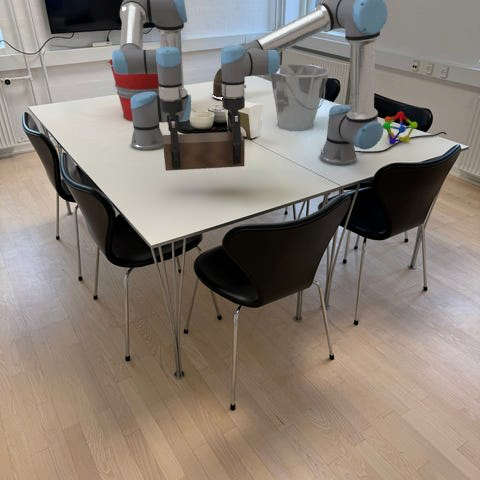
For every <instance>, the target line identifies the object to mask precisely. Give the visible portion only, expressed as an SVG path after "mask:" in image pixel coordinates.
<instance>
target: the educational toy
mask: <svg viewBox="0 0 480 480" xmlns="http://www.w3.org/2000/svg"><path fill="white" fill-rule="evenodd" d="M397 119H399V124H400V125H399V127H398V126H393V125H391V124H392V123H394V122H395V121H396V120H397ZM403 120H404V121H405V122H407V123H408V124H409V125H407V126H404V123H403ZM382 126H383V130H386V132H387V138H388V142H389V145H394V144H395V143H397V142H399V141H402V142H404V143H409V142H410V140H411V139H410V137H411V134H412V132H413V131H414V130H415V129H417V127H418V122H417V121H411V120H410V119H409V118H408V117H406V116H405V113H404V112H403V111H401V110H400V111H398V112H397V114H396V115H394V116H391V117H390V116H386V117H385V118H384V122H383V123H382ZM392 129H393V130H397V131H398V132H396V134H395V133H394V132H392ZM408 129H409V131H408V133H407V134H406V135H404V136H401V134H403V133H405V132H406V130H408ZM399 135H400V136H399Z"/></svg>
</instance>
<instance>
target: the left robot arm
mask: <svg viewBox="0 0 480 480" xmlns="http://www.w3.org/2000/svg"><path fill="white" fill-rule="evenodd" d="M119 17H120V21H121V32H120V43H119V49H115V50H112V52H111V59H112V62H113V68H114V71H115V73H117V74H126V75H128V74H158V80H159V96H157V94H156V92H142V93H139V94H136V95H134V96H133V97H132V98H131V110H132V117H133V121H132V125H133V132H132V135H131V142H130V143H131V147H132V148H134V149H135V150H141V151H151V150H153V151H154V150H157V149H161V148H163V135H164V134H163V132H162V130H161V127H160V123H167V125H168V126H167V127H168V128H167V129H168V131H169V135H170V137H171V150H169V152H171V154H172V167H173V169H181V168H180V154H179V145H178V134H179V132H178V131H179V130H180V128H179V127H180V125H179V123H183V122H187V121H189V120H190V118H191V113H192V112H191V111H192V95H191V94H188V90H187V89H186V88H185V84H184V83H185V82H184V67H183V65H184V64H183V50H182V33H181V32H182V31H183V30H184V28H185V24H186V23H187V22H188V16H187V9H186V3H185V0H123V1H122V3H121V5H120V8H119ZM146 23H149V24H150V23H151V24H152V23H153V24H154V29H156V30H157V31H158V35H159V47H158V48H157V49H144V48H143V47H144V25H145V24H146Z"/></svg>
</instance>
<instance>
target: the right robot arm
mask: <svg viewBox="0 0 480 480" xmlns="http://www.w3.org/2000/svg"><path fill="white" fill-rule="evenodd" d="M388 12H389V11H388V6H387V3H386V2H385V0H325V1H324V2H321V3H320V4H317V5H316V7H315V10H312V11H310V12H309V13H306V14H304V15H302V16H301V17H298V18H296V19H293V20H292V21H290V22H288V23H286V24H284V25H281V26H280V27H278V28H276V29H274V30H272V31H270V32H268V33H266V34H264V35H261V36H260V37H258V38H256V39H254V40H252V41H249V42H248V43H247V42H241V43H239V44H229V45H228V44H227V45H224V46H223V47H222V48H221V50H220V66H221V67H220V69H221V70H222V95H223V98H222V100H221V102H222V103H221V104H222V108H223V110H226V111H227V122H226V123H227V124H226V129H227V132H232V136H233V144H232V145H231V147H233V164H241V146H242V141H241V133H242V129H241V114H240V112H239V111H240V110H241V111H242V110H243V109H245V107H246V104H245V103H246V98H245V95H246V94H245V93H246V91H245V90H246V89H247V85H246V84H245V82H246V80H245V79H246V77H257V76H269V75H270V74H275V73H277V72H278V70H279V67H280V65H281V57H280V53H282V52H284V51H286V50H288V49H290V48H292V47H294V46H296V45H298V44H300V43H302V42H304V41H307V40H308V39H310V38H312V37H314V36H317V35H318V34H320V33H322V32H323V33H329V32H332V31H333V30H338V29H342V30H343V29H344V35H345V36H344V39H345V41H346V42H347V43H348V44H349V79H350V80H349V89H350V90H349V95H350V97H349V98H350V99H349V100H350V104H337V105H332V106H331V107H330V109H329V113H328V121H327V132H326V139H325V142H324V144H323V147H322V148H320V156H319V159H320V160H321V161H322V162H323V163H325V164H329V165H334V166H349V165H352V164H354V163H356V160H357V153H358V154H377V153H384V152H387V151H388V150H389V149H392V148H393V147H395V146H397V145H398V144H400V143H402V142H403V141H397V142H396V143H395V144H391V145H390V146H389V147H387V148H385V149H381V150H370V149H372V148H374V147H375V146H377V144H378V143H379V142H380V141H381V139H382V137H383V135H384V128H383V124H382V123H381V122H380V121H378V119H379V118H378V117H379V112H378V110H377V109H376V108H375V74H376V73H375V72H376V71H375V67H376V41H377V40H378V39H379V38H380V36H381V31H382V29H383V28H384V27H385V24H386V23H387V20H388ZM441 134H444V135H447V133H446V131H439V132H438V133H434V134H425V135H424V134H421V135H414V136H409V137H410V140H411V139H416V138H427V137H436V136H439V135H441ZM236 142H239V143H236ZM356 148H358V149H360V150H356Z"/></svg>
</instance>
